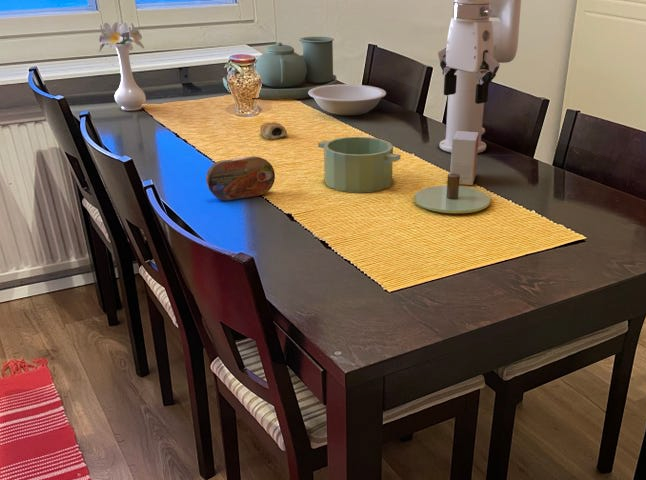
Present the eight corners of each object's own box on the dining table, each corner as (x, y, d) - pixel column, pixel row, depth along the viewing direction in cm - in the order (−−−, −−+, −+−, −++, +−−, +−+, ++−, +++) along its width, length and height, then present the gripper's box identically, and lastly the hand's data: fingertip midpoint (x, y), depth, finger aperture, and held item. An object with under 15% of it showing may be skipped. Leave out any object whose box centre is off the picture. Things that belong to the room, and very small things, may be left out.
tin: (210, 203, 160) (206, 164, 156) (206, 198, 162) (202, 160, 158) (276, 193, 166) (274, 156, 162) (271, 189, 169) (269, 152, 164)
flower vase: (147, 100, 243) (135, 17, 230) (156, 113, 228) (143, 24, 215) (105, 103, 238) (91, 18, 225) (112, 116, 224) (96, 26, 211)
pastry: (255, 132, 211) (254, 118, 209) (277, 130, 214) (276, 116, 212) (266, 140, 204) (265, 126, 202) (289, 138, 206) (289, 124, 205)
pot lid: (435, 186, 173) (437, 159, 169) (501, 199, 166) (504, 171, 162) (400, 206, 160) (401, 178, 157) (470, 221, 153) (472, 192, 150)
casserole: (339, 166, 185) (339, 131, 180) (413, 180, 176) (414, 145, 171) (302, 182, 173) (301, 146, 169) (379, 199, 164) (380, 161, 160)
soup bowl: (400, 112, 235) (400, 90, 232) (357, 127, 218) (357, 104, 214) (338, 101, 246) (338, 81, 242) (293, 115, 228) (292, 93, 225)
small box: (472, 186, 173) (476, 140, 168) (449, 184, 174) (451, 138, 169) (476, 175, 180) (479, 131, 174) (453, 174, 181) (456, 130, 175)
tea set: (304, 74, 286) (303, 27, 277) (357, 93, 257) (357, 42, 249) (206, 83, 267) (201, 34, 259) (251, 105, 239) (247, 51, 230)
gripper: (515, 15, 148) (506, 103, 157) (455, 6, 160) (450, 89, 169) (488, 18, 144) (481, 108, 153) (429, 9, 156) (425, 93, 165)
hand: (465, 98), depth 161 cm, fingers open, 9 cm apart
